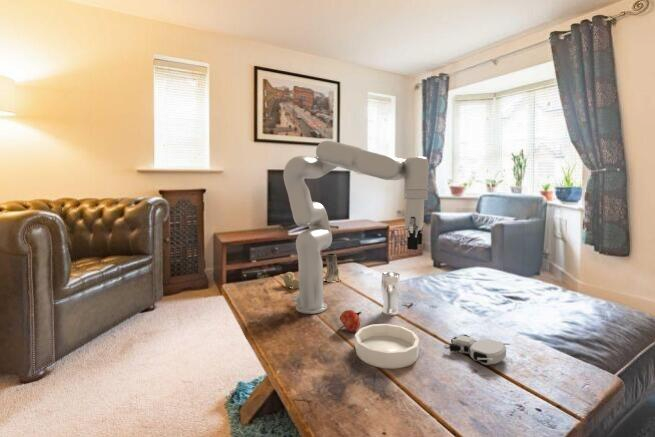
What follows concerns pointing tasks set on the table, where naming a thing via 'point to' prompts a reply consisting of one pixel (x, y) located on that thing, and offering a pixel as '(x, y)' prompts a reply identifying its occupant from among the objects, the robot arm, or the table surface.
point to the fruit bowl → (387, 346)
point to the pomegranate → (350, 320)
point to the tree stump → (331, 268)
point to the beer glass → (390, 292)
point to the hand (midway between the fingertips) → (414, 246)
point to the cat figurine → (290, 280)
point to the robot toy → (479, 349)
